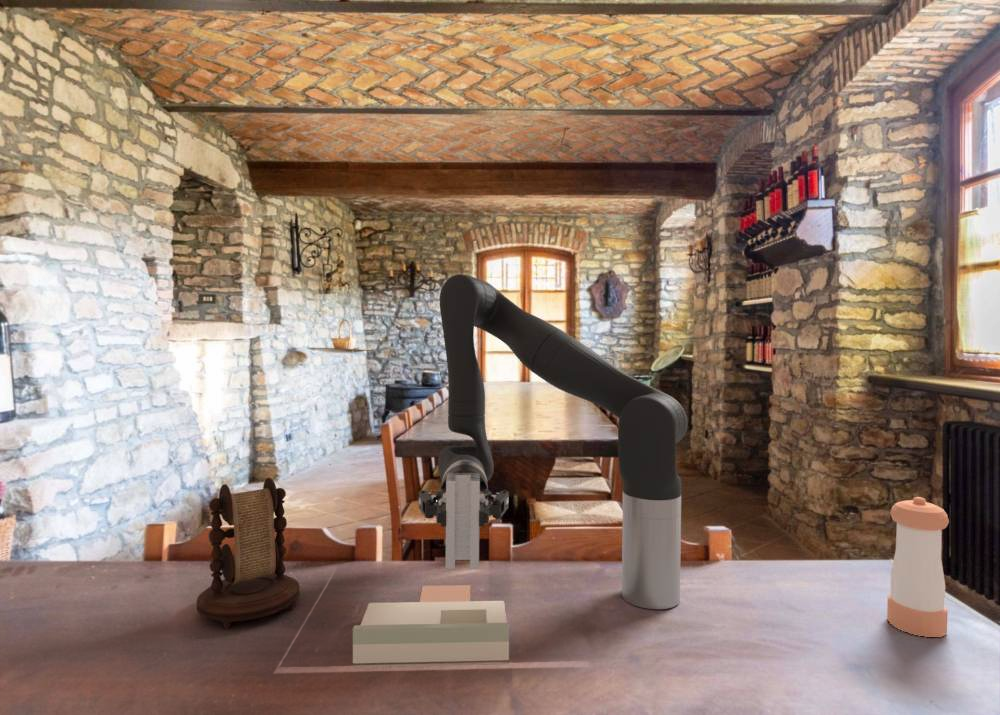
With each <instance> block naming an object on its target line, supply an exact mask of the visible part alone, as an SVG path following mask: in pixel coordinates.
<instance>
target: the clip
mask: <svg viewBox="0 0 1000 715" xmlns="http://www.w3.org/2000/svg"><path fill="white" fill-rule="evenodd" d="M479 510H480V475H479V473H448V474H447V479H446V527H445V568H444V570H455V566H456V565H455V564H456V561H457V560H461V561H462V560H463V561H464V560H465V561H466V560H469V569H470V570H479V569H480V527H479Z"/></svg>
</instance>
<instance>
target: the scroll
mask: <svg viewBox="0 0 1000 715" xmlns="http://www.w3.org/2000/svg"><path fill="white" fill-rule="evenodd" d="M286 496H287V493H286V490H285V489H284V488H283V487H278V488H277V485H276V484H275V481H274V479H272V477H266V479H265V480H264V482H263V486H262V488H260V489H253V490H249V491H247V490H246V491H243V492H241V491H240V492H236V493H231V490H230V487H229V485H227V484H226V483H224V484H222V485H221V486H220V489H219V494H218V497H214V498H212V499H211V500H210V502H209V504H208V507H209V510H211V512H210V515H211V516H212V519H211V522H210V527H211V530H210V531H209V532H208V540H209V543H210V545H211V546H212V549H211V554H210V556H211V558H212V560H211V561H210V563H209V569H210V571H211V572H212V573H211V574H210V575H211V577H212V578H213V579H212V582H211V584H210V586H208V587H207V588H206V589H205V590H203V591H202V592H201V593H200V594H199V595H198V597H197V599H196V612H197V613H198V615H200V616H201V617H202V618H204V619H207V620H212V621H217V622H222V623H223V624H222V625H223V627H224V629H225V630H229V629H230V627H231V625H232V622H240V621H241V622H242V621H250V620H255V619H258V618H263V617H267V616H271V615H273V614H275V613H278V612H281V611H282V610H284V609H285V610H286V608H288V609H289V610H290V611H292V610H294V608H295V605H296V601H297V600H298V598H299V596H300V588H301V587H300V583H299V582H298V580H296V579H295V578H294V577H291V576H289V575H287V574H285V572H286V567H285V564H284V561H285V559H286V558H285V557H284V556H285V555H286V554H287V548H286V546H285V545H284V544H285V542H286V540H285V536H284V533H283V532H285V529H286V527H287V526H288V524H287V523H288V520H287V518H286V517H285V516H284V515H285V513H286V512H285V508H284V504H285V500H284V499H285V497H286ZM220 515H221V516H220ZM222 520H223V521H224V522H226V523H227V524H228V526H229V527H230V528H228V529H226V531H225V530H224V529H223V528H221V527H222V526H223V522H222ZM231 526H233V527H232V528H231ZM275 533H276V534H275ZM226 538H227V539H233V538H234V555H233V552H232V549H231V547H230V545H229V544H227V543H224V545H223V541H224V540H225V539H226ZM221 545H223V546H222V547H221ZM221 576H223V578H224V579H222V578H221Z"/></svg>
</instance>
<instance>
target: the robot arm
mask: <svg viewBox="0 0 1000 715" xmlns="http://www.w3.org/2000/svg"><path fill="white" fill-rule="evenodd" d="M439 311H440V318H441V325H442V333H443V340H444V341H443V342H444V348H445V356H446V365H447V374H448V377H447V379H448V396H447V397H448V400H447V401H448V403H447V405H448V406H447V407H448V408H447V409H448V410H447V412H448V413H447V425H448V426H447V427H448V429H449V430H450V431H451V432H452V433H456V434H460V435H464V436H468V437H470V438H471V439H472V440H473V441H474V444H475V445H449V446H447V447H445V448H443V449H442V450H441V451H440V453H439V455H438V458H437V471H438V474H439V478H440V479H441V486H440V490H438V491H436V493H435V494H432V493H431V492H428V490H424V489H423V490H422V489H421V490H420V491H418V509H419V510H420V512H421V513H422V515H423V517H425V519H428V520H429V519H432V518H433V519H434V517H436V518H435V521H436V522H435V523H436V524H437V525H438V524H440V527H441V528H446V479H447V474H448V473H479V475H480V510H479V528H482V527H483V528H484V527H485V524H489V523H490V516H492V517H493V518H494V519H500V518H502V517H503V515H504V514H505V513H506V512H507V510H508V509H509V504H510V503H509V501H510V500H509V490H506V489H505V490H501V491H500V492H496V493H495V494H493V493H492V492H491V490H489V485H488V481H489V480H491V478H492V476H493V474H494V468H495V467H494V460H493V455H492V452H491V448H490V445H489V442H488V436H487V432H486V431H487V430H486V416H485V415H486V390H485V383H484V379H483V375H482V372H481V369H480V365H479V362H478V358H477V354H476V350H475V349H476V348H475V340H474V332H475V331H474V330H475V328H478V329H479V330H481V331H485V332H486V333H488V334H490V335H491V336H493V337H495V338H496V339H498V340H500V341H501V342H502V343H504V344H505V345H506V346H507V347H508V348H509V350H511V352H512V353H513V354H514V356H515V357H516V358H517V360H519V361H520V363H521V364H522V365H523V366H524V367H525V368H527V369H528V370H529V371H530V372H532V373H533V374H534V375H536V376H538V377H539V378H540V379H541V380H543V381H545V382H546V383H548V384H549V385H550V386H553V387H555V388H557V389H558V390H561V391H562V392H565V393H567V394H569V395H572V396H574V397H577V398H579V399H583V400H585V401H588V402H590V403H593V404H595V405H597V406H599V407H601V408H604V409H605V410H607V411H608V412H610V413H611V414H612V415H613V416H615V417H616V418H618V423H617V424H618V425H617V450H618V452H617V453H618V455H617V456H618V471H619V476H620V478H621V481H622V529H621V530H622V534H621V535H622V536H621V537H622V539H621V540H622V542H621V543H622V544H621V545H622V546H621V551H622V552H621V596H622V598H623V599H624V601H626V602H628V603H629V604H631V605H633V606H636V607H638V608H643V609H649V610H666V609H671V608H674V607H676V606H678V605H679V603H680V600H681V553H682V552H681V551H682V550H681V545H682V543H681V541H682V479H681V476H679V475H678V473H677V460H676V458H677V457H676V456H677V452H676V451H677V450H676V444H678V443H679V442H680V441H681V440H682V439H683V438H684V437H685V435H686V433H687V430H688V426H689V425H688V424H689V423H688V421H689V420H688V416H687V413H686V411H685V409H684V407H683V405H681V403H680V402H679V401H678V400H677V399H676V398H674V397H673V396H671V395H669V394H668V393H665V392H663V391H661V390H660V389H656V388H654V387H653V386H651V385H648V384H647V383H644V382H642V381H640V380H638V379H637V378H635V377H633V376H631V375H629V374H627V373H626V372H624V371H622V370H621V369H619V368H618V367H616V366H615V365H614V364H612V363H611V362H610V361H608V360H607V359H605V358H604V357H603V356H601V355H600V354H599V353H597V352H595V351H594V350H592V349H591V348H590V347H588V346H586V345H585V344H583V343H582V342H581V341H580V340H578V339H576V338H574V337H573V336H571V335H570V334H568V333H567V332H566V331H564V330H562V329H560V328H558V327H557V326H555V325H553V324H552V323H550V322H547V321H546V320H544V319H542V318H541V317H538V316H536V315H533V314H531V313H529V312H527V311H525V310H524V309H522V308H520V307H519V306H518V305H517V304H515V303H514V302H513V301H511V300H510V299H509V298H507V297H506V295H505V294H503V293H502V292H500V291H499V290H498V289H497V288H496V287H494V286H493V285H492V284H491V283H489V282H488V281H485V280H483V279H480V278H476V277H473V276H471V275H467V274H464V273H463V274H462V273H461V274H455V275H452V276H450V277H449V278H447V279H446V281H445V282H444V283H443V284H442V287H441V289H440V292H439Z"/></svg>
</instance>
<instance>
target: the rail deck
mask: <svg viewBox="0 0 1000 715" xmlns="http://www.w3.org/2000/svg"><path fill="white" fill-rule="evenodd" d="M506 615H507V613H506V606H505V601H504V600H474V601H473V600H470V601H458V602H420V601H415V602H414V601H411V602H410V601H408V602H406V601H402V602H369V603H368V604H367V607H366V610H365V612H364V615H363V618H362V621H361V623H360V624H357V625H356V624H355V625H354V626H353V627H352V664H353V665H352V668H353V669H354V668H360V669H361V668H398V667H399V668H401V667H404V668H405V667H442V666H443V667H444V666H448V667H449V666H453V667H454V666H485V665H486V666H488V665H489V666H491V665H494V666H495V665H497V666H498V665H510V662H509V660H510V622H507V616H506ZM478 661H479V662H478ZM480 661H482V662H480ZM485 661H486V662H485ZM487 661H488V662H487ZM489 661H490V662H489ZM492 661H493V662H492ZM498 661H499V662H498ZM432 662H433V663H432ZM434 662H435V663H434ZM437 662H439V663H437ZM441 662H442V663H441ZM443 662H444V663H443ZM446 662H447V663H446ZM388 663H389V664H388ZM390 663H391V664H390ZM394 663H397V664H394ZM399 663H400V664H399Z"/></svg>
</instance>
